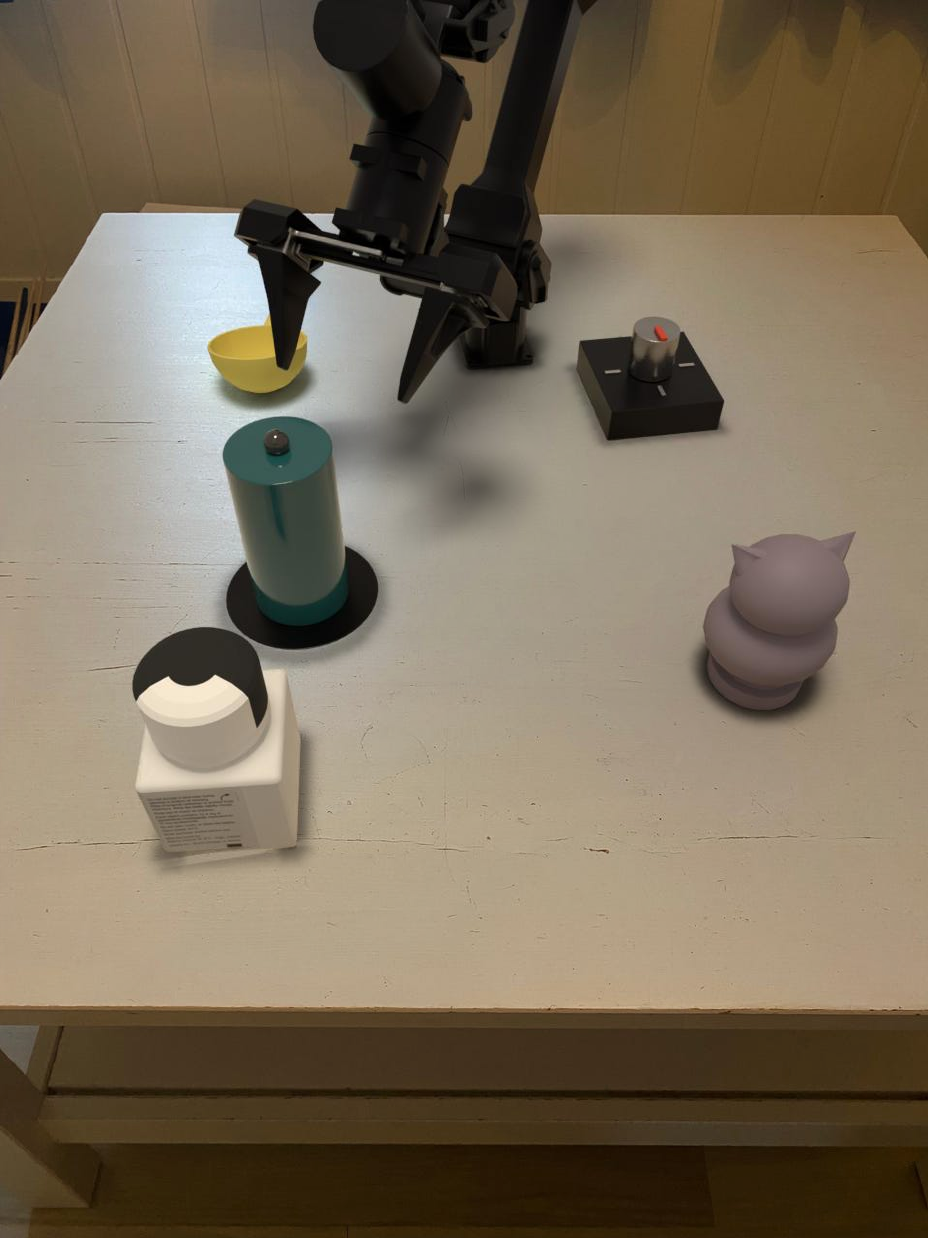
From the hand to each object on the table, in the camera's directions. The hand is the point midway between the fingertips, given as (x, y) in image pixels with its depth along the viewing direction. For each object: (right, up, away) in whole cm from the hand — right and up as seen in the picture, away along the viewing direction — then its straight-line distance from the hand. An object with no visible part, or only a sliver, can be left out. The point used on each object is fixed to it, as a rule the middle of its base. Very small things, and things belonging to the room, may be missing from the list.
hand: (340, 385), depth 64 cm
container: (-6, -27, -6) cm, 28 cm away
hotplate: (-3, -14, +5) cm, 16 cm away
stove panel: (+25, +4, +22) cm, 33 cm away
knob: (+25, +6, +20) cm, 32 cm away
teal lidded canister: (-3, -14, +5) cm, 15 cm away
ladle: (-9, +12, +29) cm, 33 cm away
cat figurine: (+28, -20, +1) cm, 34 cm away
